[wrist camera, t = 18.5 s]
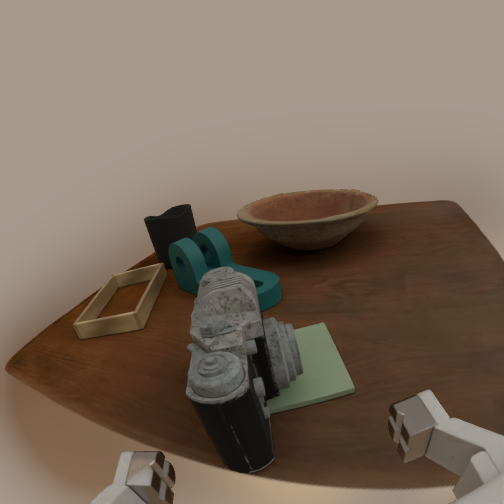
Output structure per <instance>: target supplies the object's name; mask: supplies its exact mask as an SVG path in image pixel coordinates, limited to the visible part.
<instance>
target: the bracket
mask: <svg viewBox="0 0 504 504" xmlns="http://www.w3.org/2000/svg"><path fill="white" fill-rule="evenodd" d="M169 258H170V262H171V265H172V268H173V271H174V274H175V277H176V280H177V283H178V286H179V288H181V289H183V290H185V291H188V292H190V293H192V294H195V295H198V290H199V285H200V281H201V280H202V277H203V275H204V274H205V273H207V272H208V271H210V270H212V269H215V268H219V267H231V268H233V270H234V271H236V272H241V273H243V274H245V275H247V276H249V277H250V278H251V279H253V280H254V284H255V287H256V291H257V295H258V299H259V303H260V307H261V311H263V310H266V309H268V308H270V307H272V306H274V305H275V304H277V303H278V302H279V301H280V299H281V297H282V291H281V287H280V282H279V277H278V276H277V275H276V274H275V273H272V272H268V271H264V270H259V269H255V268H250V267H246V266H241V265H237V264H235V263H234V262H233V259H232V255H231V251H230V248H229V245H228V243H227V241H226V239H225V237H224V236H223V235H222V233H221V232H220V231H219V230H217V229H216V228H213V227H209V228H206V229H204V230H202V231H199V232H197V233H195V234H194V236H193V241H192V240H191V239H189V238H183V239H181V240H179V241H177V242H174V243H172V244H170V246H169Z"/></svg>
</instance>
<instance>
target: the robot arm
mask: <svg viewBox="0 0 504 504" xmlns="http://www.w3.org/2000/svg"><path fill="white" fill-rule="evenodd" d="M389 412H390V414H391V416H390V417H389V419H388V427H389V432H390V435H391V437H392V440H393V441H394V442H396V443H398V452H399V454H400V456H401V459H402V461H403V463H406V462H409V461H411V460H414V459H416V458H419V457H421V456H424V455H425V456H426V457H428V458H429V459H431V460H433V461H434V462H436V463H438V464H439V465H441V466H443V467H445V468H446V469H448V470H450V471H452V472H453V473H455V474H457V475H459V476H460V478H459V480H458V482H457V483H456V485H455V487H454V489H453V492H454V494H455V496H456V498H457V500H455V501H453V502H451V503H449V504H504V436H502V435H500V434H497V433H494V432H491V431H489V430H486V429H483V428H480V427H478V426H475V425H472V424H470V423H467V422H465V421H462V420H459V419H457V418H451V419H450V417H449V416H448V414H447V413H446V411H445V410H444V409H443V407H442V406H441V404H440V403H439V401H438V400H437V399H436V397H435V396H434V394H433V393H432V391H430V390H426V391H424V392H421V393H419V394H417V395H413V396H411V397H408V398H406V399H403V400H401V401H398V402H396V403H393V404H391V405H390V408H389ZM164 459H165V456H164V454H163V453H162V452H161V451H152V452H151V451H150V452H149V451H145V452H136V451H134V452H133V451H129V452H128V451H126V452H125V451H123V453H121V455H120V458H119V462H118V465H117V469H116V473H115V477H114V480H113V484H112V485H108V486H107V487H106V488H105V489H104V490H103V491H102V492H101V493H100V494H99V495H97V496H96V497H95V498H94V499H93V500H92V501H91V502H90V503H89V504H173V497H174V493H173V492H172V490H171V488H172V486H174V484H175V471H174V468H173V466H172V465H171V463H169V462H168V461H166V460H164Z"/></svg>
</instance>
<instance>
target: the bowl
mask: <svg viewBox="0 0 504 504" xmlns="http://www.w3.org/2000/svg"><path fill="white" fill-rule="evenodd" d="M377 203H378V199H377V198H376V197H375V196H373V195H371V194H368V193H365V192H360V191H359V190H353V189H351V190H348V189H347V190H346V189H340V190H311V191H300V192H292V193H286V194H283V193H282V194H277V195H274V196H271V197H268V198H263V199H260V200H257V201H255V202H252V203H250V204H247V205H246V206H244V207H242V208H241V209H240V210H239V211H238V213H237V217H238V219H240V220H241V221H243V222H245V223H247V224H249V225H253V226H256V227H257V229H258V230H259V231H260V232H261V233H263V235H264V236H266V237H267V238H268V239H270V240H272V241H275V242H278V243H280V244H281V245H283V246H286V247H289V248H292V249H295V250H319V249H323V248H327V247H331V246H333V245H335V244H337V243H338V242H339V241H340V240H342V239H343V238H344V237H345V236H346V235H348V234H349V233H350V232H352V231H353V230H354V229H356V228H357V227H358V226H359V225H360V224H361V222H362V221H363V219H364V217H365V215H366V214H367V212H369V211H371V210H373V209H374V208H375V207H376V205H377Z"/></svg>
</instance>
